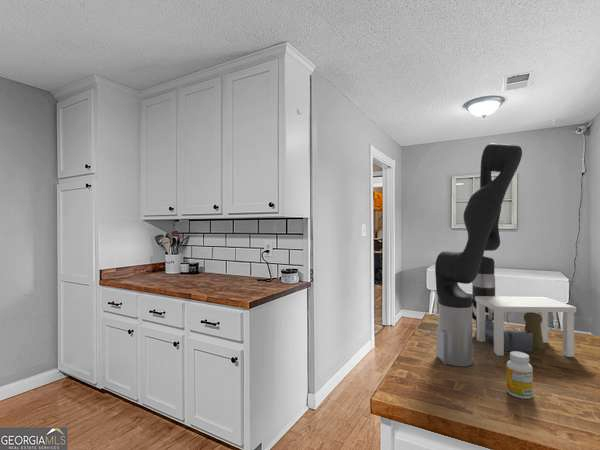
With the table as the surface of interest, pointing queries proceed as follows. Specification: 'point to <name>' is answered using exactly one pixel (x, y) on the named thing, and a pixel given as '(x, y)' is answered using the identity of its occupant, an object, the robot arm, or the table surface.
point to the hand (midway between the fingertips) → (483, 330)
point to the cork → (534, 328)
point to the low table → (524, 305)
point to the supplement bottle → (519, 375)
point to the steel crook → (511, 338)
